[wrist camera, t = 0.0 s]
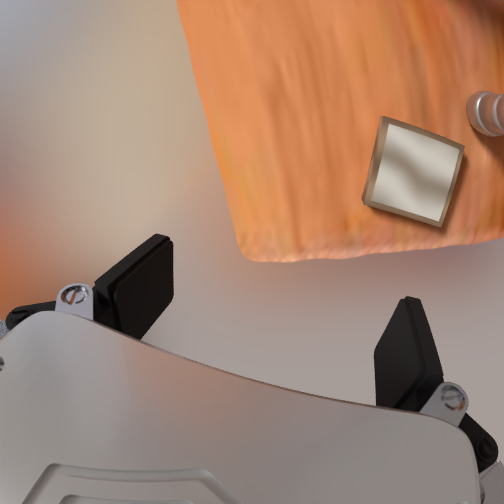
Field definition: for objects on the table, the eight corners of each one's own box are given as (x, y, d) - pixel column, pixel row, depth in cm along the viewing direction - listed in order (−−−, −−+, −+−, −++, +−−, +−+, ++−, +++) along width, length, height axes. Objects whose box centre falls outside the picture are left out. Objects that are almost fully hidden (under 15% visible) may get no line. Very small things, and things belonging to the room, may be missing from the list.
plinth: (380, 116, 33) (384, 116, 30) (456, 143, 31) (465, 146, 28) (361, 198, 38) (363, 205, 36) (434, 220, 36) (441, 228, 34)
